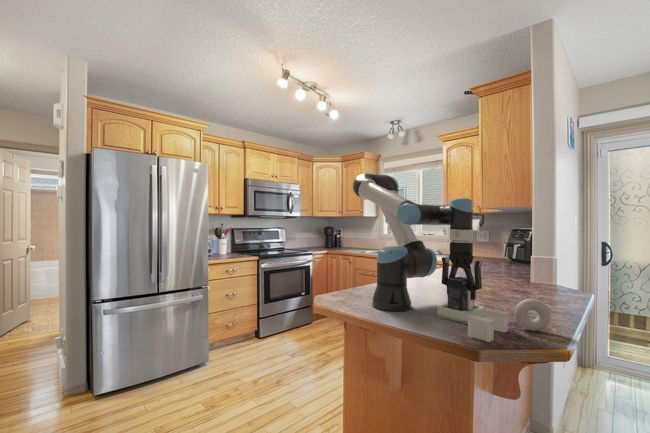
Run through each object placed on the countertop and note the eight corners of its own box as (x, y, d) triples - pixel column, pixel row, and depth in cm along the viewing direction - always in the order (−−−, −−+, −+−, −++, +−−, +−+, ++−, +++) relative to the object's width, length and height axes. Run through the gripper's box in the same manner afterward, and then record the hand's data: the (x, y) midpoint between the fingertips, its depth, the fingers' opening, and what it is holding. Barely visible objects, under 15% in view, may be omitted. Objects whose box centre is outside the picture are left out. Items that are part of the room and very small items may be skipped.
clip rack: (466, 336, 90) (466, 317, 90) (487, 325, 100) (487, 307, 101) (489, 342, 85) (489, 322, 85) (509, 330, 96) (509, 312, 96)
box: (462, 311, 105) (462, 280, 105) (447, 308, 109) (447, 278, 110) (474, 308, 109) (474, 278, 110) (459, 305, 114) (459, 276, 114)
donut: (516, 331, 95) (516, 298, 95) (512, 327, 98) (512, 296, 99) (553, 334, 93) (553, 301, 93) (547, 330, 96) (547, 298, 96)
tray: (437, 316, 109) (437, 306, 109) (454, 310, 118) (454, 300, 118) (468, 324, 101) (468, 313, 101) (484, 316, 109) (484, 306, 110)
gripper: (431, 240, 114) (430, 303, 114) (484, 243, 100) (484, 315, 100) (441, 240, 119) (440, 300, 119) (493, 242, 105) (493, 310, 105)
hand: (460, 306), depth 109 cm, fingers closed on box, 6 cm apart
